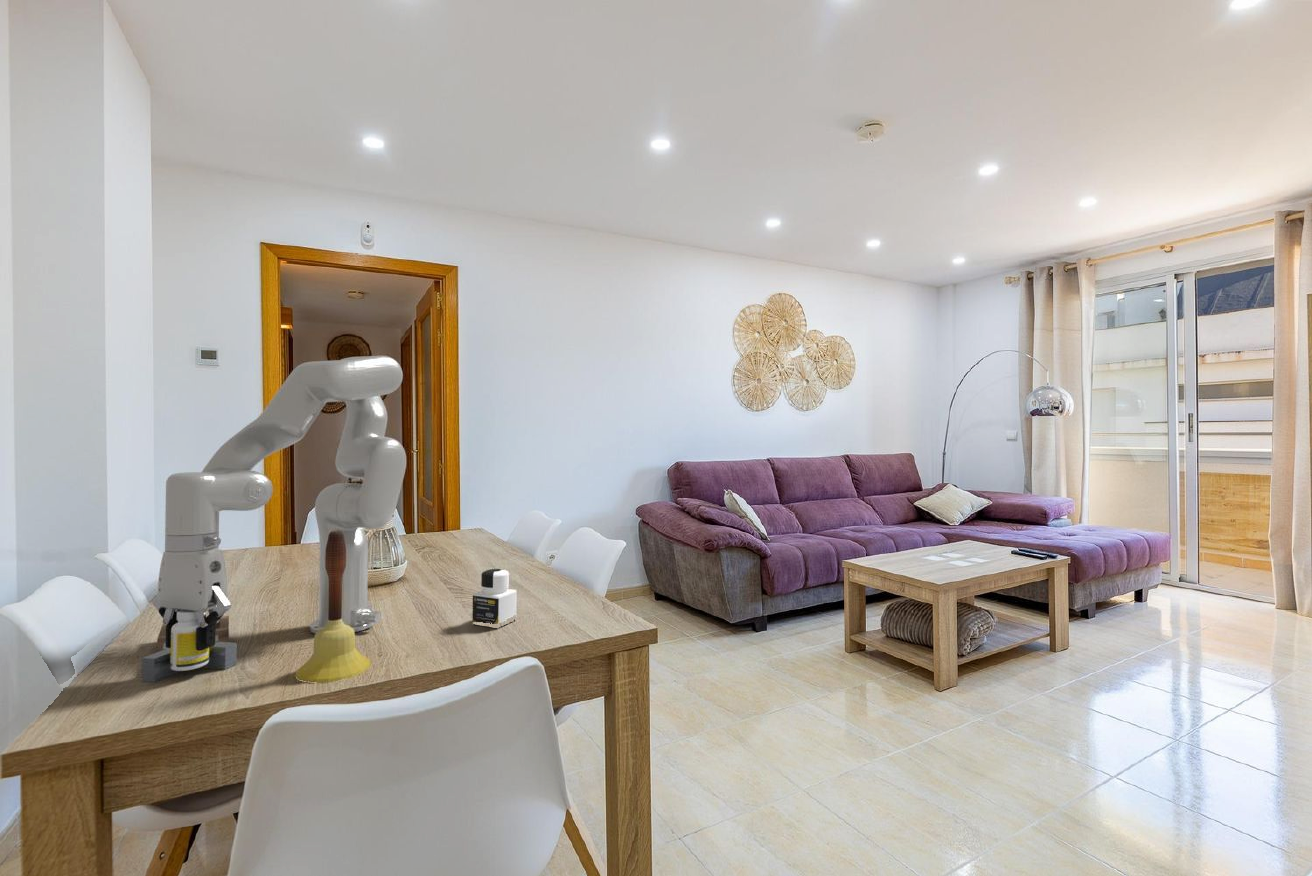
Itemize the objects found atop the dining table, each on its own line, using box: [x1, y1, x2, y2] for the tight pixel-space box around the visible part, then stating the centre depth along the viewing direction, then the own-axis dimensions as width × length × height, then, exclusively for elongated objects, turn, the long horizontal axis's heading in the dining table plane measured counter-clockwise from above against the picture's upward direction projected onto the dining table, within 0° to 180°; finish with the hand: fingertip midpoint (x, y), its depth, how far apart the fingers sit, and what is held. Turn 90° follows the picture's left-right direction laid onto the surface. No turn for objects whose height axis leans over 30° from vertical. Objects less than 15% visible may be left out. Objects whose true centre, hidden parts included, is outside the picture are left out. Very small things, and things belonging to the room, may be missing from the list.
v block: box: [141, 635, 238, 683], centre depth 110 cm, size 9×13×4 cm
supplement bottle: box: [170, 610, 209, 672], centre depth 106 cm, size 5×5×10 cm
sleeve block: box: [156, 615, 230, 653], centre depth 122 cm, size 11×11×4 cm
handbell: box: [294, 531, 371, 684], centre depth 110 cm, size 12×12×25 cm
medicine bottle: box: [471, 568, 518, 624], centre depth 139 cm, size 7×7×12 cm
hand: (190, 645), depth 106 cm, fingers closed on supplement bottle, 5 cm apart
